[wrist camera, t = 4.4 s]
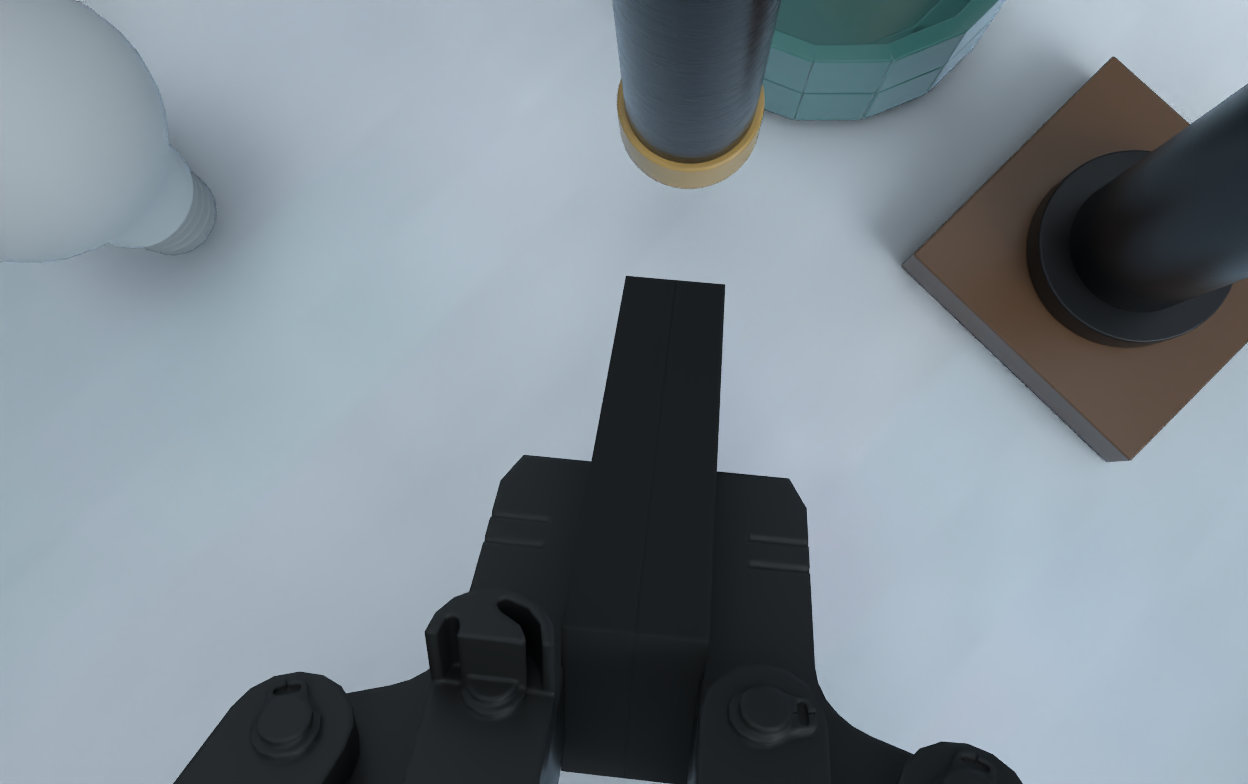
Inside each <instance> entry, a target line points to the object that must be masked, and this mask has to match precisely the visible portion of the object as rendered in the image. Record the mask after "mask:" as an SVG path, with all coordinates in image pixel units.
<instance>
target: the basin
mask: <svg viewBox="0 0 1248 784" xmlns="http://www.w3.org/2000/svg"><path fill="white" fill-rule="evenodd" d="M1005 1H1006V0H781V5H780V9H779V13H778V18H777V22H776V27H775V31H774V35H773V40H772V44H771V49H770V53H769V57H768V62H767V66H766V71H765V75H764V79H763V87H764V95H765V107H764V109H766V110H768V111H771V112H774V113H776V114H779V115H781V116H784V117H786V118H789V119H791V120H793V119H796V120H859V119H862V118H863V119H864V118H868V117H871V116H873V115H875V114H878V113H880V112H883V111H885V110H888V109H890V108H893V107H895V106H898V105H900V104H903V103H905V102H907V101H910V100H912V99H915V98H917V97H920V96H922V95H924V94H925V93H926V92H929V91H930V90H931V89H932V88H933V87H934V86H935V85H936V84H937V83H938V82H939V81H940V80H941V79H942V78H943V77H944V76H945V75H946V74H947V73H948V72H949V71H950V70H951V69H952V68H953V67H954V66H955V65H956V64H957V63H958V62H959V61H961V60H962V59H963V58H964V57H965V56H966V55H967V54H968V53H969V52H970V51H971V50H972V49H973V47H974V46H975V44H976V43H977V41H978V40H979V39H980V37H981V36H982V34H983V33H984V31H985V30H986V28H987V27H988V25H989V24H990V22H991V21H992V19H993V18H994V17H995V15H996V14H997V13H998V11H999V10H1000V8H1001V7H1002V5H1003V4H1004V2H1005Z"/></svg>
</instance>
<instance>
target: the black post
mask: <svg viewBox="0 0 1248 784" xmlns="http://www.w3.org/2000/svg"><path fill="white" fill-rule="evenodd" d="M902 267H903V268H904V269H905V270H906V271H907V272H908V273H909V274H910V275H911V276H912V277H913V278H914V279H915V280H916V281H917V282H918V283H919V284H920V285H922V286H923V287H924V288H925V289H926V290H927V291H928V292H929V293H930V294H931V295H932V296H933V297H934V298H935V299H936V300H937V301H938V302H939V303H940V304H941V305H943V306H944V307H945V308H946V309H947V310H948V311H949V312H950V313H951V314H952V315H953V316H954V317H955V318H956V319H957V320H958V321H959V322H960V323H961V324H962V325H964V326H965V327H966V328H967V329H968V330H969V331H970V332H971V333H972V334H973V335H974V336H975V337H976V338H977V339H978V340H979V341H980V342H981V343H982V344H983V345H984V346H986V347H987V348H988V349H989V350H990V351H991V352H992V353H993V354H994V355H995V356H996V357H997V358H998V359H999V360H1000V361H1001V362H1002V363H1003V364H1004V365H1005V366H1007V367H1008V368H1009V369H1010V370H1011V371H1012V372H1013V373H1014V374H1015V375H1016V376H1017V377H1018V378H1019V379H1020V380H1021V381H1022V382H1023V383H1024V384H1025V385H1026V386H1027V387H1029V388H1030V389H1031V390H1032V391H1033V392H1034V393H1035V394H1036V395H1037V396H1038V397H1039V398H1040V399H1041V400H1042V401H1043V402H1044V403H1045V404H1046V405H1047V406H1048V407H1050V408H1051V409H1052V410H1053V411H1054V412H1055V413H1056V414H1057V415H1058V416H1059V417H1060V418H1061V419H1062V420H1063V421H1064V422H1065V423H1066V424H1067V425H1068V426H1069V427H1071V428H1072V429H1073V430H1074V431H1075V432H1076V433H1077V434H1078V435H1079V436H1080V437H1081V438H1082V439H1083V440H1084V441H1085V442H1086V443H1087V444H1088V445H1089V446H1090V447H1091V448H1093V449H1094V450H1095V451H1096V452H1097V453H1098V454H1099V455H1100V456H1101V457H1102V458H1103V459H1104V460H1105V461H1106V462H1116V461H1129V460H1132V459H1133V458H1134V457H1135V456H1136V455H1137V454H1138V453H1139V452H1140V451H1141V450H1142V449H1143V448H1144V447H1145V446H1146V445H1147V444H1148V443H1149V442H1150V441H1151V440H1152V439H1153V438H1154V437H1155V436H1156V435H1157V433H1158V432H1159V431H1160V430H1161V429H1162V428H1163V427H1164V426H1165V425H1166V424H1167V423H1168V422H1169V421H1170V420H1171V419H1172V418H1173V417H1174V416H1175V415H1176V414H1177V413H1178V412H1179V411H1180V410H1181V409H1182V408H1183V407H1184V406H1185V405H1186V404H1187V403H1188V402H1189V401H1190V400H1191V399H1192V398H1193V397H1194V396H1195V395H1196V394H1197V393H1198V392H1199V391H1200V390H1201V389H1202V388H1203V387H1204V386H1205V385H1206V384H1207V383H1208V382H1209V381H1210V380H1211V379H1212V378H1213V377H1214V376H1215V375H1216V374H1217V373H1218V372H1219V371H1220V370H1221V369H1222V368H1223V367H1224V366H1225V365H1226V364H1227V363H1228V362H1229V360H1230V359H1231V358H1232V357H1233V356H1234V355H1235V354H1236V353H1237V352H1238V351H1239V350H1240V349H1241V348H1242V347H1243V346H1244V345H1245V344H1246V343H1247V342H1248V84H1247V85H1245V86H1244V87H1242V88H1241V89H1240V90H1238V91H1237V92H1235V93H1234V94H1233V95H1231V96H1230V97H1228V98H1227V99H1226V100H1224V101H1223V102H1221V103H1220V104H1218V105H1217V106H1216V107H1214V108H1213V109H1211V110H1210V111H1209V112H1207V113H1206V114H1204V115H1203V116H1202V117H1200V118H1199V119H1197V120H1196V121H1195V122H1193V123H1192V124H1189V123H1188V122H1187V121H1186V120H1185V119H1183V118H1182V117H1181V116H1180V115H1179V114H1178V113H1177V112H1176V111H1175V110H1173V109H1172V108H1171V107H1170V106H1169V105H1168V104H1167V103H1166V102H1165V101H1163V100H1162V99H1161V98H1160V97H1159V96H1158V95H1157V94H1156V93H1154V92H1153V91H1152V90H1151V89H1150V88H1149V87H1148V86H1147V85H1146V84H1144V83H1143V82H1142V81H1141V80H1140V79H1139V78H1138V77H1137V76H1136V75H1134V74H1133V73H1132V72H1131V71H1130V70H1129V69H1128V68H1127V67H1125V66H1124V65H1123V64H1122V63H1121V62H1120V61H1119V60H1118V59H1117V58H1115V57H1112V58H1111V59H1110V60H1109V61H1108V62H1106V63H1105V64H1104V65H1103V66H1102V67H1101V68H1100V69H1099V70H1098V71H1097V72H1096V73H1095V74H1094V75H1093V76H1092V77H1091V78H1090V79H1089V80H1088V81H1087V82H1086V83H1085V84H1084V85H1083V86H1082V87H1081V88H1080V89H1079V90H1078V91H1077V92H1076V93H1075V94H1074V95H1073V96H1072V97H1071V98H1070V99H1069V100H1068V101H1067V102H1066V103H1065V104H1064V105H1063V106H1062V107H1061V108H1060V109H1059V110H1058V111H1057V112H1056V113H1055V114H1054V115H1053V116H1052V117H1051V118H1050V119H1049V120H1048V121H1047V122H1046V123H1045V124H1044V125H1043V126H1042V127H1041V128H1040V129H1039V130H1038V131H1037V132H1036V133H1035V134H1034V135H1033V136H1032V137H1031V138H1030V139H1029V140H1028V141H1027V142H1026V143H1025V144H1024V145H1023V146H1022V147H1021V148H1020V149H1019V150H1018V151H1017V152H1016V153H1015V154H1014V155H1013V156H1012V157H1010V158H1009V159H1008V160H1007V161H1006V162H1005V163H1004V164H1003V165H1002V166H1001V167H1000V168H999V169H998V170H997V171H996V172H995V173H994V174H993V175H992V176H991V177H990V178H989V179H988V180H987V181H986V182H985V183H984V184H983V185H982V186H981V187H980V188H979V189H978V190H977V191H976V192H975V193H974V194H973V195H972V196H971V197H970V198H969V199H968V200H967V201H966V202H965V203H964V204H963V205H962V206H961V207H960V208H959V209H958V210H957V211H956V212H955V213H954V214H953V215H952V216H951V217H950V218H949V219H948V220H947V221H946V222H945V223H944V224H943V225H942V226H941V227H940V228H939V229H938V230H937V231H936V232H935V233H934V234H933V235H932V236H931V237H930V238H929V239H928V240H927V241H926V242H925V243H924V244H923V245H922V246H921V247H920V248H919V249H918V250H917V251H916V252H915V253H914V254H913V255H912V256H910V257H909V258H908V259H907V260H906V261H905V262H904V263H903V265H902Z"/></svg>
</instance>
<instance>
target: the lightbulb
mask: <svg viewBox="0 0 1248 784" xmlns="http://www.w3.org/2000/svg"><path fill="white" fill-rule="evenodd" d="M215 218H216V204H215V200H214V197H213V195H212V193H211V191H210V189H209V188H208V187H207V186H206V184H205V183H204V182H202V181H201V179H200V178H199V177H197V176H196V175H195V174H194V173H193V172H191V171H190V170H189V168H188V166H187V164H186V162H185V161H184V159H183V157H182V156H181V155H180V154H179V153H178V152H177V150H175V149H174V148H173V147H172V146H171V145H170V144H168V133H167V123H166V115H165V109H164V105H163V102H162V99H161V95H160V92H159V89H158V87H157V85H156V83H155V81H154V79H153V77H152V76H151V74H150V72H149V70H148V68H147V67H146V65H145V63H144V62H143V60H142V58H141V57H140V55H139V53H138V52H137V51H136V49H135V48H134V47H133V46H132V45H131V44H130V42H129V41H128V40H127V39H126V38H125V37H124V35H123V34H122V33H121V32H120V31H119V30H117V29H116V28H115V27H114V26H113V25H111V24H110V23H109V22H108V21H107V20H105V19H104V18H103V17H101V16H100V15H99V14H97V13H96V12H95V11H93V10H92V9H91V8H89V7H88V6H86V5H84V4H82V3H80V2H78V1H75V0H0V261H9V262H37V263H42V262H49V261H56V260H63V259H67V258H70V257H73V256H76V255H79V254H82V253H85V252H87V251H90V250H93V249H95V248H98V247H100V246H103V245H105V244H107V243H110V244H113V245H116V246H120V247H124V248H145V249H147V250H150V251H154V252H158V253H161V254H165V255H178V254H184V253H186V252H189V251H191V250H193V249H195V248H197V247H198V246H199V245H200V244H201V243H203V242H204V241H205V239H206V238H207V237H208V236H209V234H210V232H211V230H212V228H213V226H214V222H215Z"/></svg>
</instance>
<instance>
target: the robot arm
mask: <svg viewBox="0 0 1248 784" xmlns="http://www.w3.org/2000/svg"><path fill="white" fill-rule="evenodd" d="M724 298H725V285H724V284H712V283H701V282H690V281H678V280H667V279H655V278H644V277H633V276H626V279H625V284H624V290H623V295H622V301H621V306H620V311H619V317H618V322H617V327H616V333H615V338H614V344H613V349H612V354H611V360H610V365H609V370H608V376H607V381H606V387H605V392H604V397H603V403H602V408H601V413H600V419H599V424H598V430H597V435H596V440H595V446H594V451H593V457H592V462H591V461H581V460H571V459H561V458H550V457H540V456H530V455H523V456H522V457H521V459H520V460H519V461H518V462H517V463H516V464H515V465H514V466H513V467H512V468H511V470H510V471H509V472H508V473H507V474H506V475H505V476H504V477H503V478H502V480H501V481H500V485H499V488H498V492H497V496H496V499H495V503H494V506H493V510H492V517H490V520H489V524H488V527H487V531H486V535H485V542H483V545H482V549H481V552H480V556H479V559H478V563H477V566H476V570H475V574H474V577H473V581H472V584H471V588H470V591H469V592H468V593H465V594H462V595H460V596H457V597H454V598H453V599H452V600H450V601H449V602H448V603H447V604H445V605H444V606H443V607H442V608H441V609H439V610H438V611H437V612H436V613H435V614H434V616H433V618H432V620H431V622H430V623H429V625H428V627H427V629H426V630H425V638H426V645H427V652H428V659H429V666H430V669H429V670H427V671H426V672H424V673H422V674H420V675H418V676H416V677H414V678H412V679H410V680H407V681H404V682H400V683H397V684H393V685H390V686H384V687H379V688H374V689H368V690H363V691H357V692H352V693H347V694H346V693H345V692H344V690H343V688H342V687H341V686H340V685H338V684H337V683H335V682H333V681H332V680H330V679H328V678H327V677H325V676H324V675H318V674H312V673H305V672H295V673H290V674H284V675H279V676H274V677H272V678H270V679H268V680H266V681H264V682H262V683H260V684H258V685H256V686H254V687H252V688H251V689H249V690H248V691H247V692H246V693H245V694H244V695H243V696H242V697H241V698H240V699H239V700H238V701H237V702H236V703H235V704H234V705H233V706H232V707H231V708H230V709H229V711H228V712H227V713H226V715H225V716H224V717H223V719H222V720H221V721H220V723H219V724H218V725H217V727H216V728H215V729H214V731H213V732H212V733H211V734H210V736H209V737H208V738H207V740H206V741H205V742H204V744H203V745H202V746H201V748H200V749H199V750H198V752H197V753H196V754H195V756H194V757H193V758H192V760H191V761H190V762H189V764H188V765H187V766H186V768H185V769H184V770H183V771H182V773H181V774H180V775H179V777H178V778H177V779H176V781H175V782H174V783H173V784H558V781H559V775H560V769H561V771H566V772H575V773H584V774H592V775H601V776H610V777H618V778H627V779H636V780H644V781H653V782H662V783H670V784H1023V783H1022V782H1021V780H1020V779H1019V777H1018V776H1017V775H1016V773H1015V772H1014V771H1013V770H1012V769H1010V768H1009V767H1008V766H1007V765H1005V764H1004V763H1003V762H1002V761H1000V760H999V759H998V758H997V757H995V756H994V755H993V754H991V753H988V752H986V751H984V750H981V749H979V748H976V747H974V746H971V745H969V744H965V743H952V742H939V743H936V744H933V745H930V746H927V747H923V748H920V749H919V750H918V751H917V752H916V753H915V754H911V753H909V752H907V751H904V750H902V749H900V748H897V747H895V746H892V745H890V744H888V743H885V742H883V741H881V740H878V739H876V738H873V737H871V736H869V735H867V734H866V733H864V732H862V731H860V730H858V729H856V728H854V727H853V726H852V725H850V724H849V723H848V722H847V721H846V720H844V719H843V718H842V717H841V716H840V715H838V714H837V712H836V711H835V710H834V709H833V707H832V706H831V705H830V704H829V703H828V701H827V700H826V699H825V697H824V694H823V692H822V690H821V688H820V686H819V684H818V680H817V675H816V670H815V659H814V641H813V622H812V603H811V584H810V573H809V568H810V565H809V547H808V527H807V509H806V507H805V505H804V503H803V502H802V500H801V498H800V496H799V495H798V493H797V491H796V490H795V488H794V486H793V484H792V483H791V481H790V479H788V478H778V477H767V476H757V475H747V474H737V473H727V472H717V454H718V432H719V409H720V387H721V365H722V342H723V320H724Z"/></svg>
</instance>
